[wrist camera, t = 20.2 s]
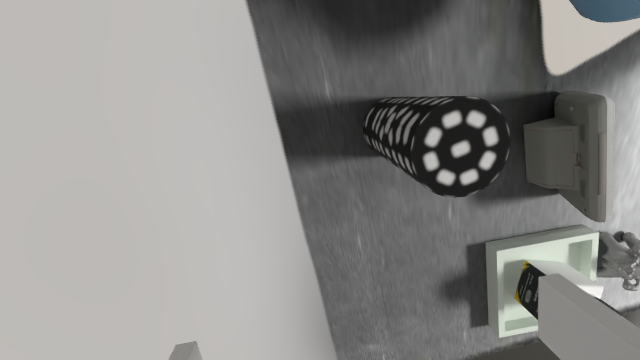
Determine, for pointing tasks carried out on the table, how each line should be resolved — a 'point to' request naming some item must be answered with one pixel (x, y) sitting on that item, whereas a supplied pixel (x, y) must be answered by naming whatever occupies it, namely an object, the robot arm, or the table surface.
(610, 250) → the elephant statuette
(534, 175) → the digital clock
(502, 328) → the tray
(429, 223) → the table surface
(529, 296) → the medicine bottle
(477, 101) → the spotted tube
